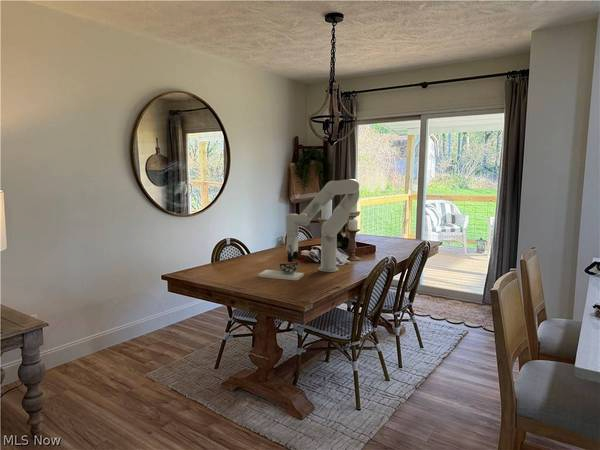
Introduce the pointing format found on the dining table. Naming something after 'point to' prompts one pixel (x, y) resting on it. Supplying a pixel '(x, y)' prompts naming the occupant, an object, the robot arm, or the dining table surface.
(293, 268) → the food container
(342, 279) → the dining table surface
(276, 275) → the cutting board
